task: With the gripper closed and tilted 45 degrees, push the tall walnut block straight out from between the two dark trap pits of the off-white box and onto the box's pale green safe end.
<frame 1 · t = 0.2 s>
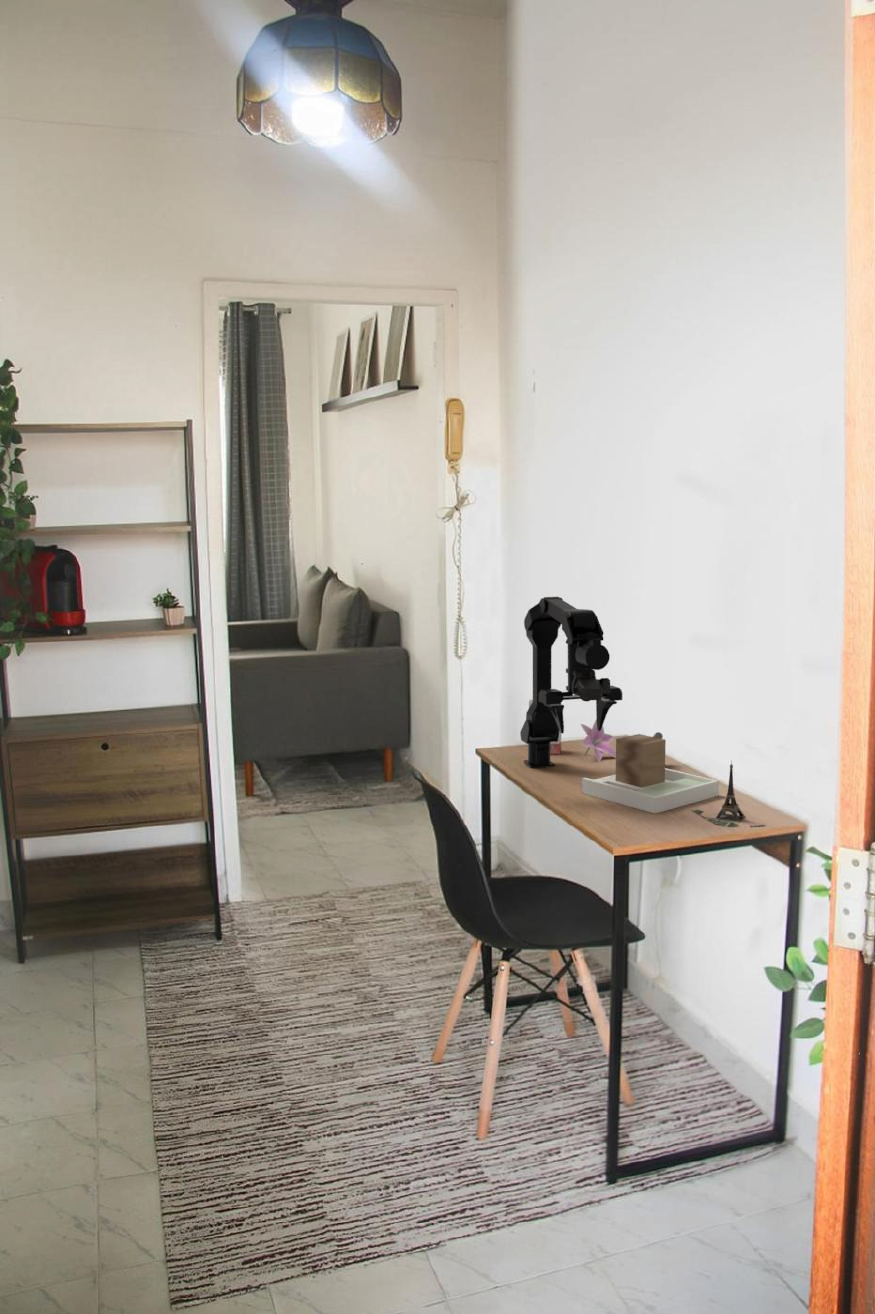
hand: (580, 731, 255), 14 cm above the table, tool pointing down, fingers open, 9 cm apart
ink cartridge box: (544, 752, 298), on the table
walnut block: (640, 781, 257), point 2 cm above the table, touching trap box
lily: (597, 758, 291), on the table
eiffel tower figurine: (727, 821, 236), on the table
portable electronic device stand: (649, 768, 280), on the table
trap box: (649, 794, 255), on the table
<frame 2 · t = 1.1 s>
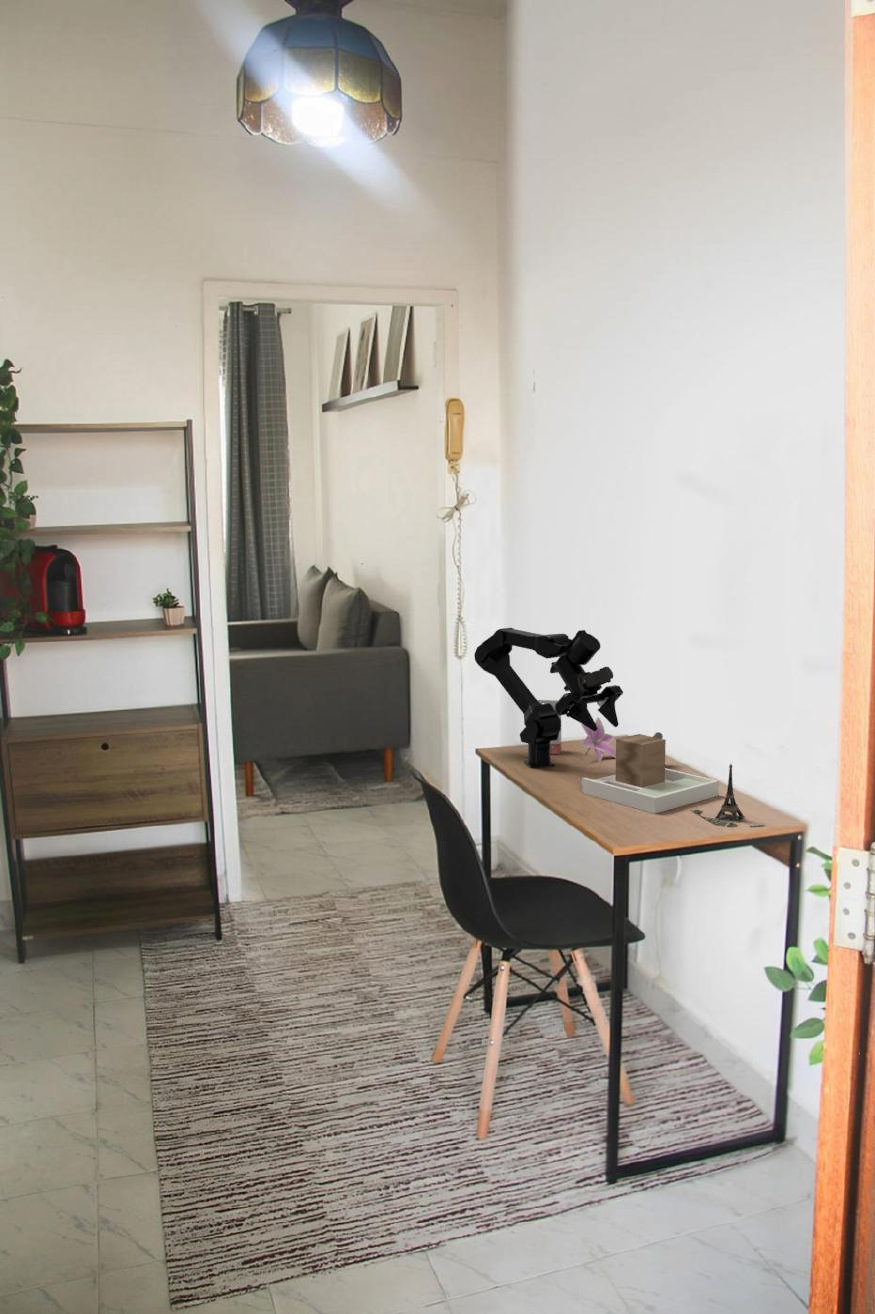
hand: (606, 728, 264), 13 cm above the table, tool tilted 45°, fingers open, 7 cm apart
nothing on the table moved.
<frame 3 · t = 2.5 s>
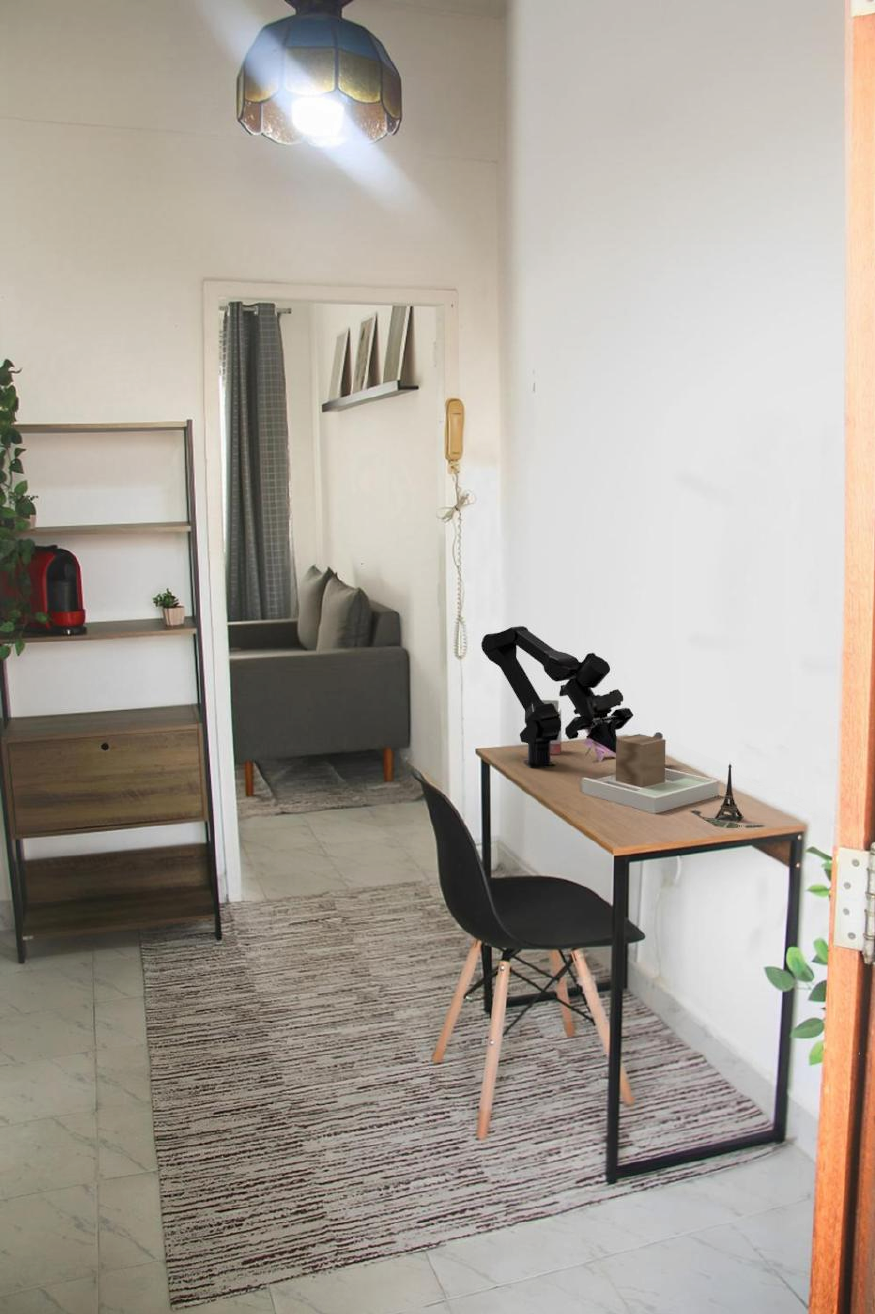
hand: (617, 751, 262), 8 cm above the table, tool tilted 45°, fingers closed
nothing on the table moved.
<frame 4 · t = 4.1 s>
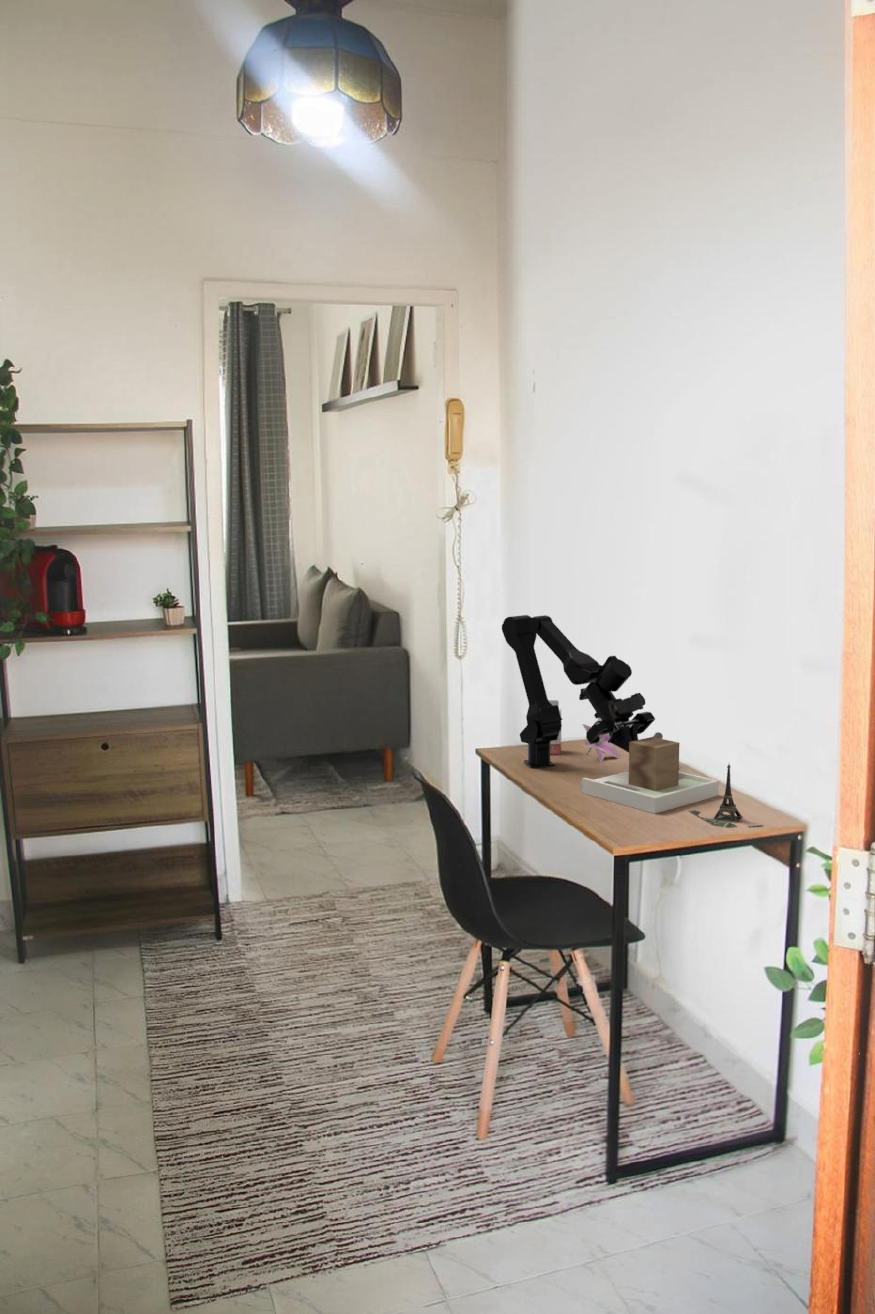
hand: (639, 756, 256), 8 cm above the table, tool tilted 45°, fingers closed
walnut block: (653, 784, 254), point 2 cm above the table, touching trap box
everything else where it was.
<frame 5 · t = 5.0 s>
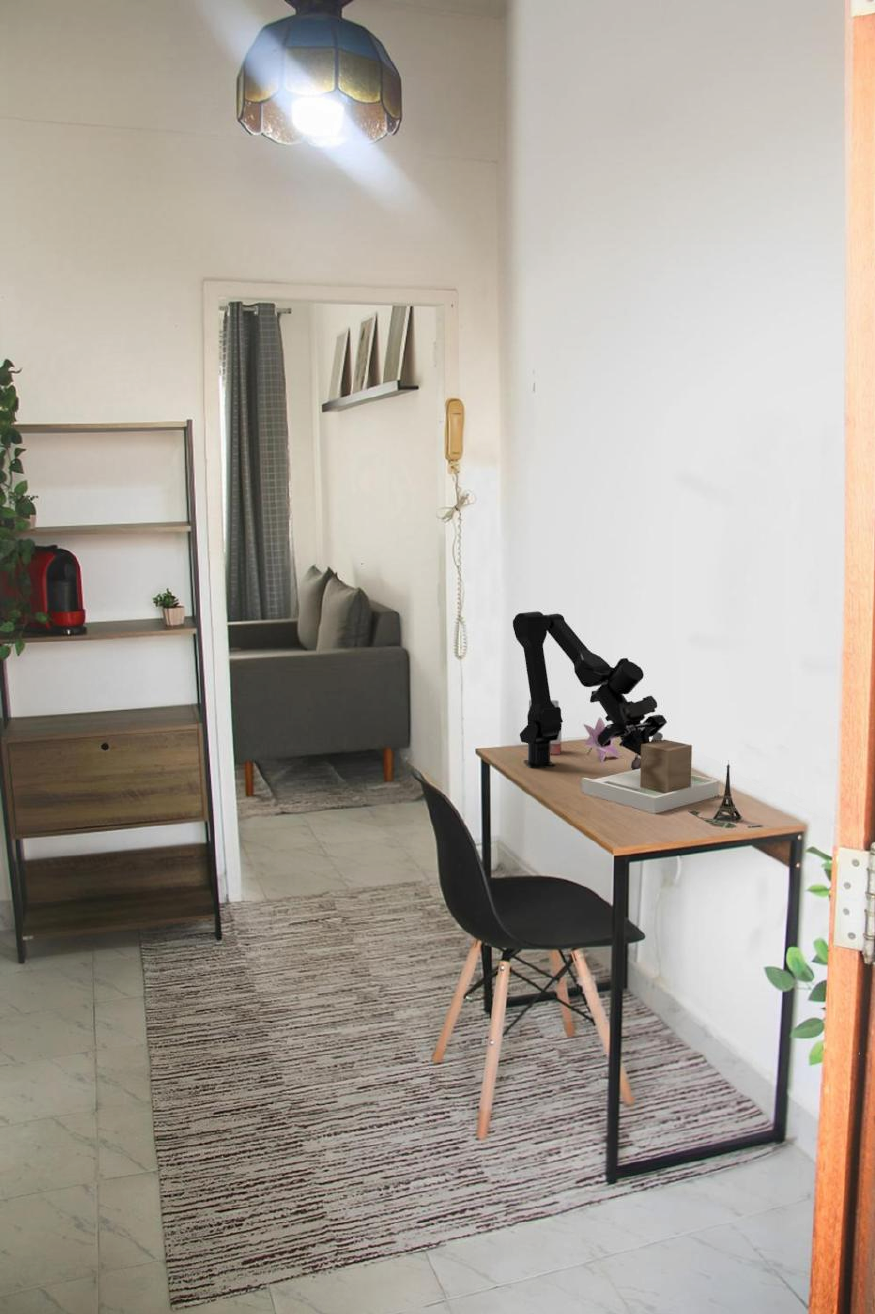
hand: (651, 760, 254), 8 cm above the table, tool tilted 45°, fingers closed, pressing on walnut block
walnut block: (665, 787, 251), point 2 cm above the table, touching gripper, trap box
everything else where it was.
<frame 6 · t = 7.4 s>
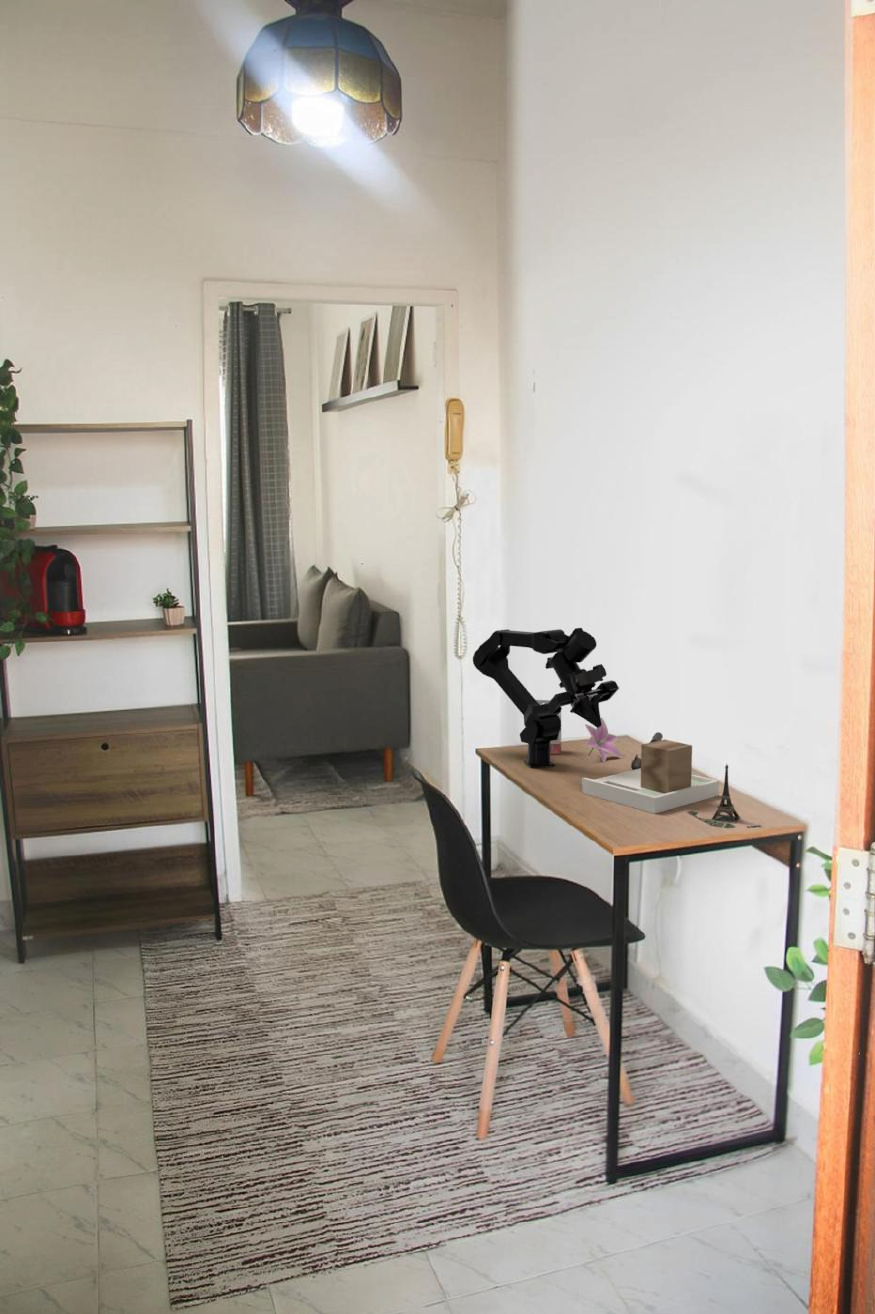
hand: (599, 726, 265), 13 cm above the table, tool tilted 40°, fingers closed
walnut block: (665, 787, 251), point 2 cm above the table, touching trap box
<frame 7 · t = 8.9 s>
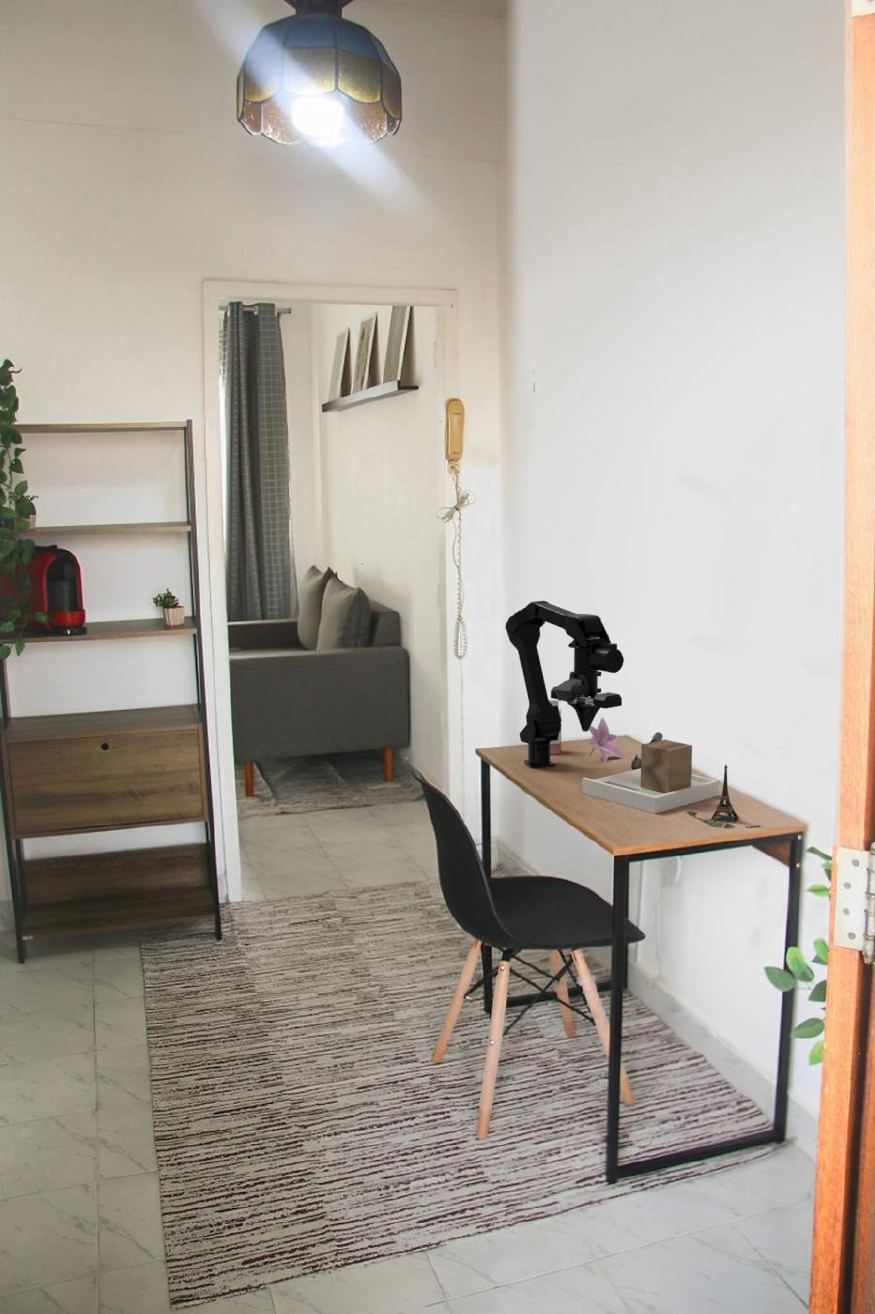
hand: (585, 731, 267), 12 cm above the table, tool pointing down, fingers closed
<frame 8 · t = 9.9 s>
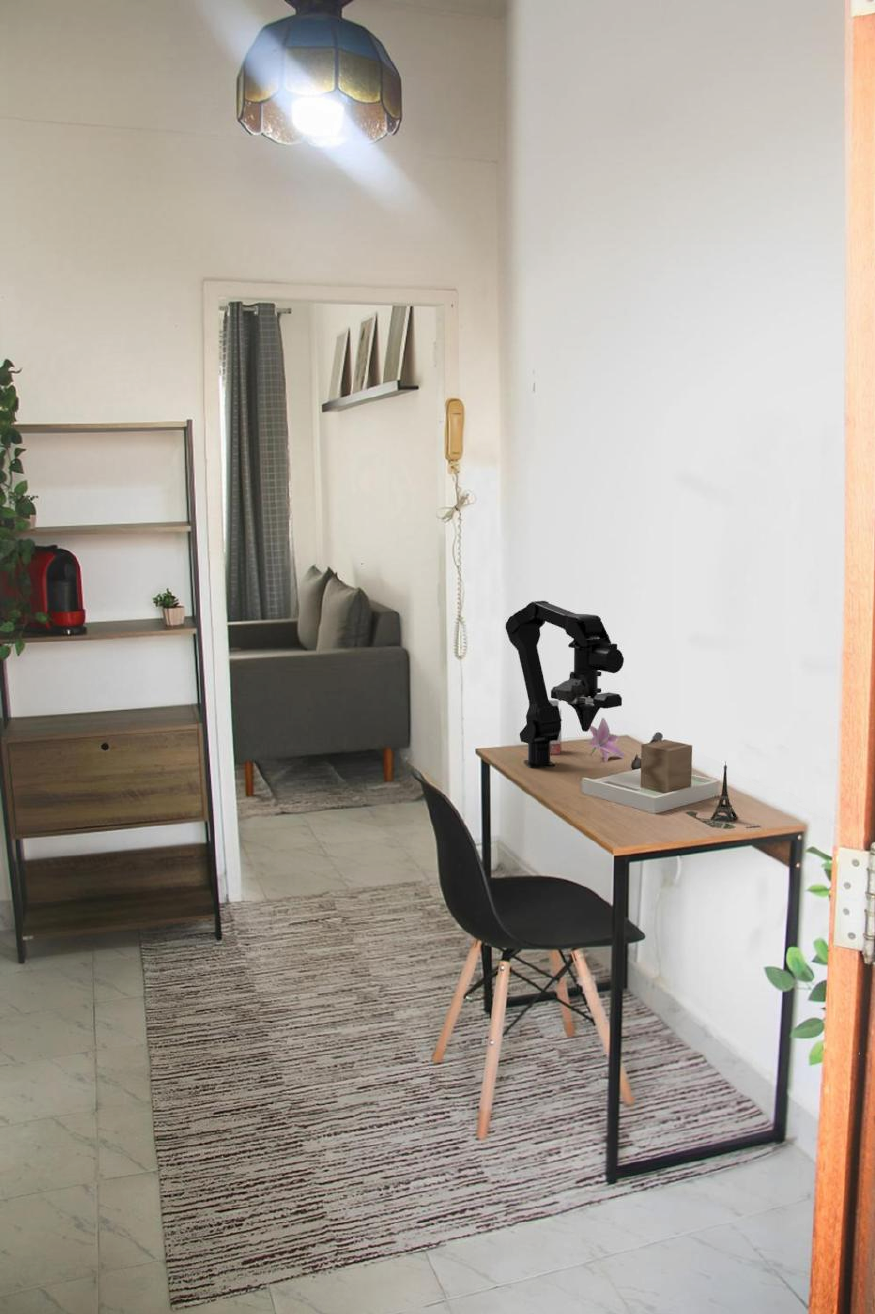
hand: (585, 731, 267), 12 cm above the table, tool pointing down, fingers closed
at the end: walnut block inside the target area (0.3 cm from its centre), point 2.5 cm above the table; walnut block tilted 0°; walnut block moved 7.7 cm from its start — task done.
